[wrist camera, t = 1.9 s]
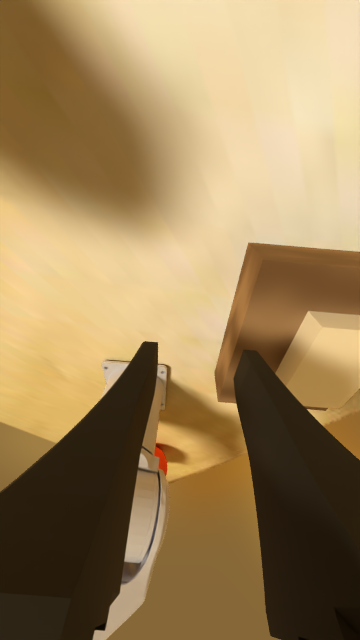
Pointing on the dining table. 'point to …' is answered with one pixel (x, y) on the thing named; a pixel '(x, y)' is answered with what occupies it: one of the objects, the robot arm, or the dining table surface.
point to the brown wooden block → (283, 303)
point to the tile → (323, 360)
